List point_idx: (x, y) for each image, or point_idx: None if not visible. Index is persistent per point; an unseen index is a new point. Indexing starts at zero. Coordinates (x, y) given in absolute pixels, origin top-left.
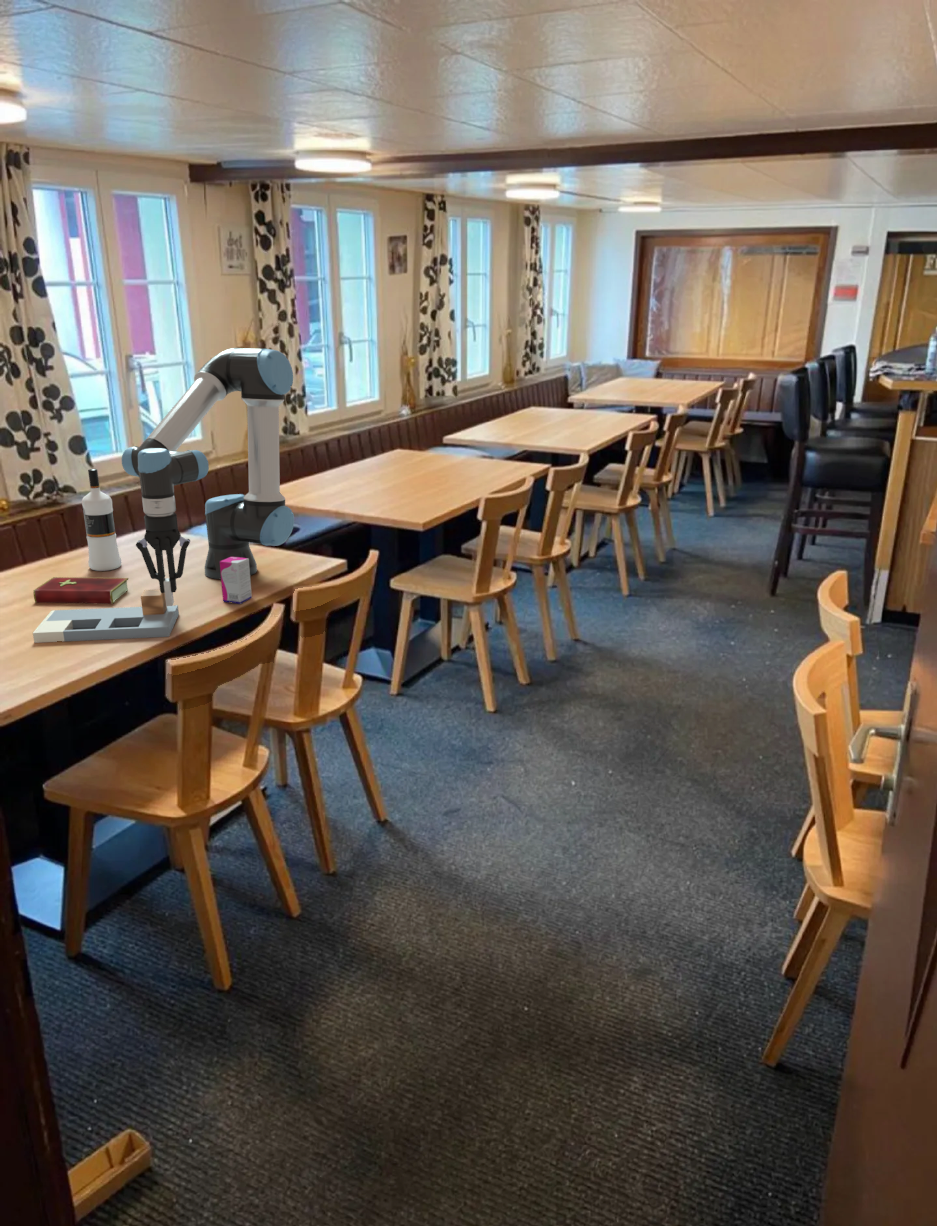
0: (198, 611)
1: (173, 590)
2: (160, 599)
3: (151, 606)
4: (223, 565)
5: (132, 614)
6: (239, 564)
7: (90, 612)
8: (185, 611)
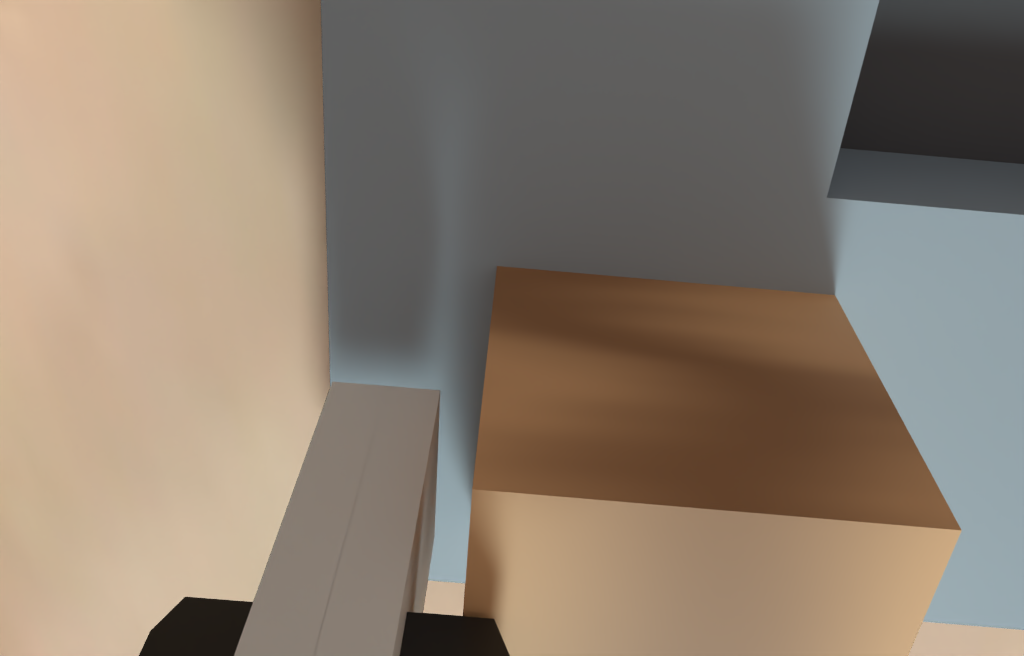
0: (140, 526)
1: (207, 633)
2: (513, 431)
3: (700, 362)
4: None
5: (995, 355)
6: None
7: None
8: None
